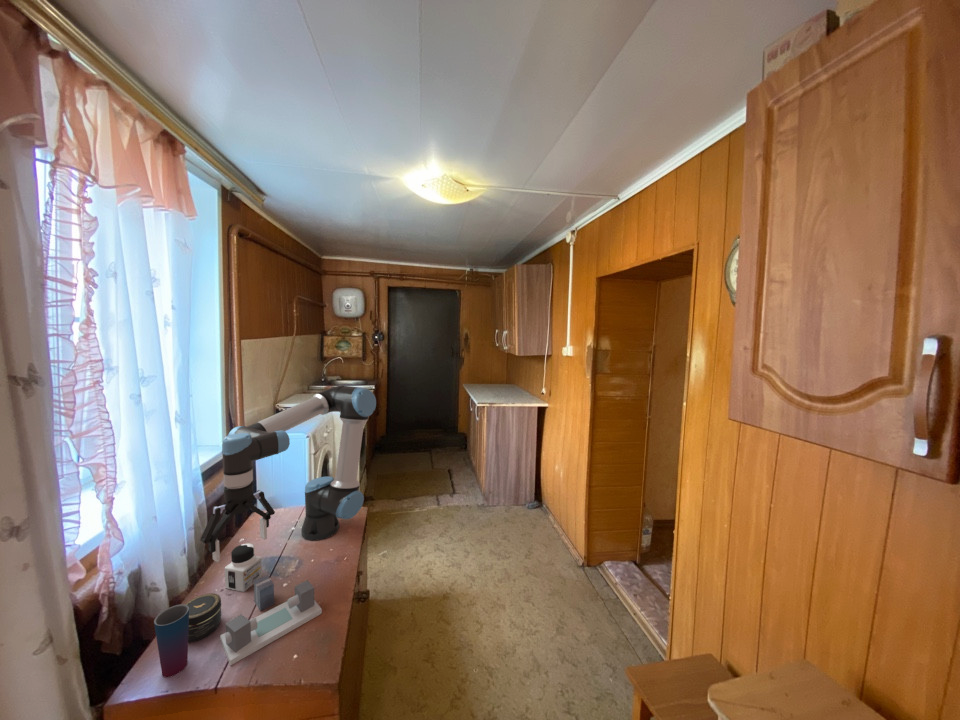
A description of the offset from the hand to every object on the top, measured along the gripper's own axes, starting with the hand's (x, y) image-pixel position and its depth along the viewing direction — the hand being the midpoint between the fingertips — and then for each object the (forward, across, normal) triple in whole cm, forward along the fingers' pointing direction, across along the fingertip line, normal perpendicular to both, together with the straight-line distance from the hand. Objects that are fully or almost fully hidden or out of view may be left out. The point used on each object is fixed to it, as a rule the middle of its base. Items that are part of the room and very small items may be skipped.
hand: (241, 548), depth 112 cm
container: (+19, -5, -10) cm, 22 cm away
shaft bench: (+19, -1, +16) cm, 25 cm away
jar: (+19, +11, 0) cm, 22 cm away
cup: (+19, +20, +8) cm, 29 cm away
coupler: (+19, -4, +5) cm, 20 cm away
